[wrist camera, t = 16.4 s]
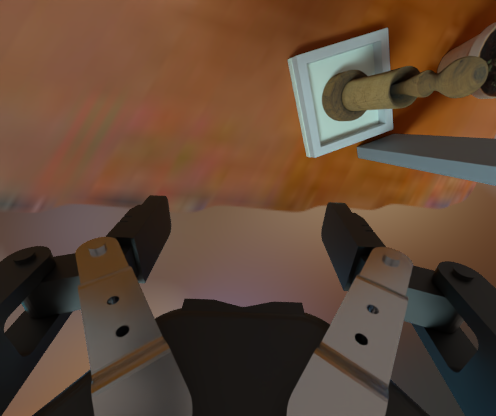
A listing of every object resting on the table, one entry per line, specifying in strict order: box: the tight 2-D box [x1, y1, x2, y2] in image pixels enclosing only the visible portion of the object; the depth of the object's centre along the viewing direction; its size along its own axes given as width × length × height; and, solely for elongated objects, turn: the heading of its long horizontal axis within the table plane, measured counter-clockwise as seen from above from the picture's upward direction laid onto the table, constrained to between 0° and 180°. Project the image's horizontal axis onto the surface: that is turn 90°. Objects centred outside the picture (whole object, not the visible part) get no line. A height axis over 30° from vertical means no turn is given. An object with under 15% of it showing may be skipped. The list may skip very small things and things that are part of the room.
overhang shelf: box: [288, 28, 496, 186], centre depth 22 cm, size 16×17×32 cm
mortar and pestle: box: [322, 56, 488, 121], centre depth 27 cm, size 7×6×18 cm
